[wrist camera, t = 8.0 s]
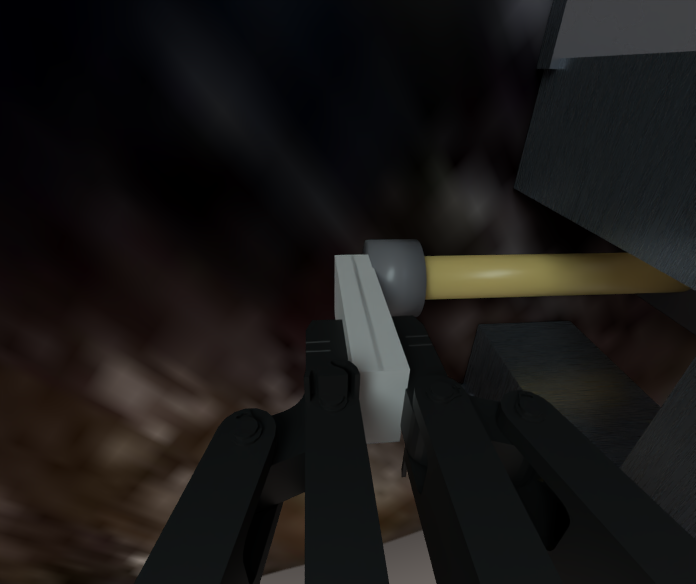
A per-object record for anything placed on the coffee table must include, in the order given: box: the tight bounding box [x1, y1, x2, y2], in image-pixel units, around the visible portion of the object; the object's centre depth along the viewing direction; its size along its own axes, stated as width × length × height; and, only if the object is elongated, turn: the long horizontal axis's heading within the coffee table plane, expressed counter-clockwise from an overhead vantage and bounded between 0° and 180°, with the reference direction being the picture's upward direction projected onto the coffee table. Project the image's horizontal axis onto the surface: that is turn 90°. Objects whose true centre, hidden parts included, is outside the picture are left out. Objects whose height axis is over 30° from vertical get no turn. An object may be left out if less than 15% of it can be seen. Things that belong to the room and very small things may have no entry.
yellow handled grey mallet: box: [362, 239, 696, 335], centre depth 14 cm, size 19×4×6 cm, turn 89°
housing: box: [460, 0, 696, 540], centre depth 12 cm, size 6×20×12 cm, turn 179°
